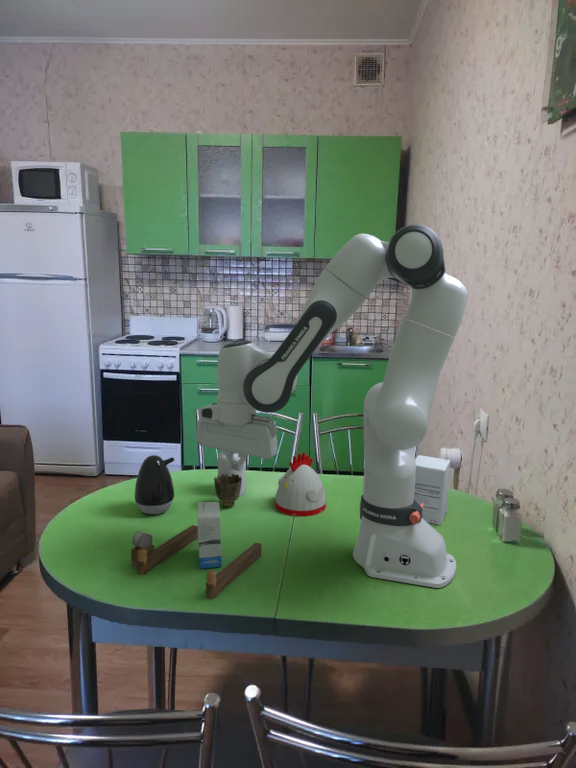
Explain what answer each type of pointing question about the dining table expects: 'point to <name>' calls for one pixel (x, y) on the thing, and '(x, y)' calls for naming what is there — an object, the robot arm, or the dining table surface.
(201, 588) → the dining table surface
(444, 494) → the supplement box
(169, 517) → the dining table surface
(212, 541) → the ink box
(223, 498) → the cup
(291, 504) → the kitchen timer
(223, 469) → the pill bottle
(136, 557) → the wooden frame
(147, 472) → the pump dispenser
